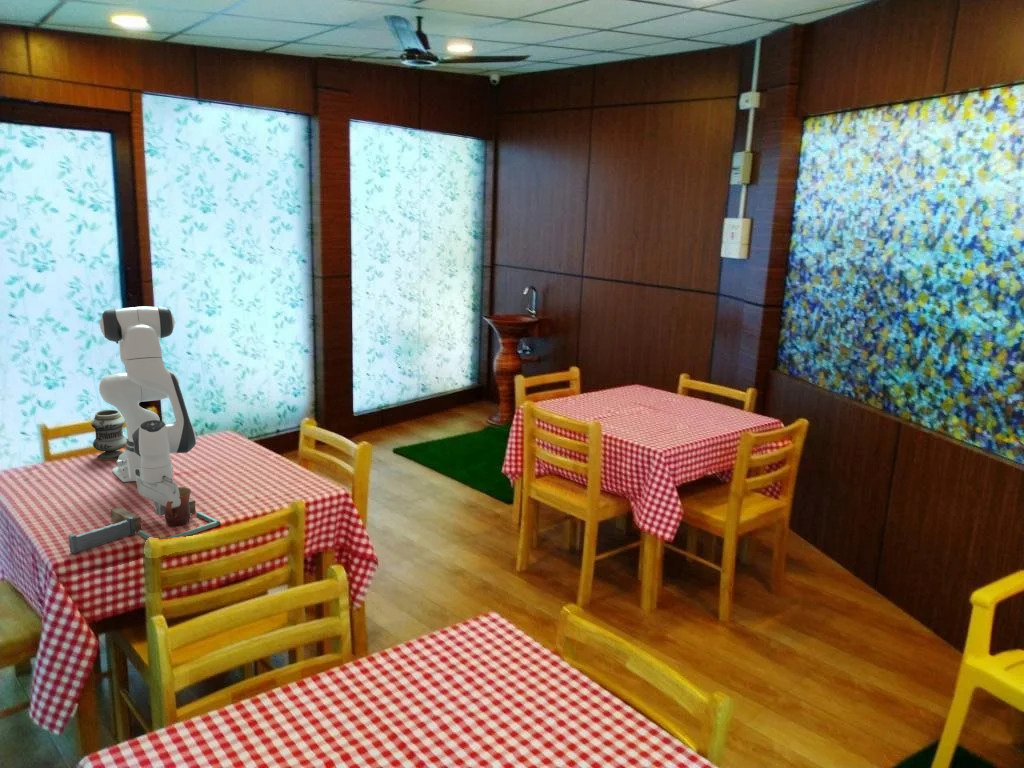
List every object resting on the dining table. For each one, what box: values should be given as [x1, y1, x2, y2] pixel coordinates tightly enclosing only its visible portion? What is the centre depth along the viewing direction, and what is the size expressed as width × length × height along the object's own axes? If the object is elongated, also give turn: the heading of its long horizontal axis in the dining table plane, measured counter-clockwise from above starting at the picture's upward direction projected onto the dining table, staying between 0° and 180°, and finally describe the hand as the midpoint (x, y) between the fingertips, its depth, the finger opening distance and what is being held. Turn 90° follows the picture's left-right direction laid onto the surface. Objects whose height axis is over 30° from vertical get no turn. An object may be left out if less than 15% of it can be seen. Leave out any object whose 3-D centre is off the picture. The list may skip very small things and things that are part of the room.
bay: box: [137, 511, 221, 539], centre depth 243 cm, size 12×20×1 cm, turn 142°
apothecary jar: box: [90, 409, 128, 461], centre depth 307 cm, size 12×12×18 cm
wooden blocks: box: [110, 498, 197, 532], centre depth 252 cm, size 13×21×4 cm, turn 142°
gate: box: [67, 516, 137, 554], centre depth 232 cm, size 2×18×5 cm, turn 142°
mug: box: [162, 486, 192, 527], centre depth 245 cm, size 12×9×10 cm
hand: (160, 514), depth 249 cm, fingers closed
